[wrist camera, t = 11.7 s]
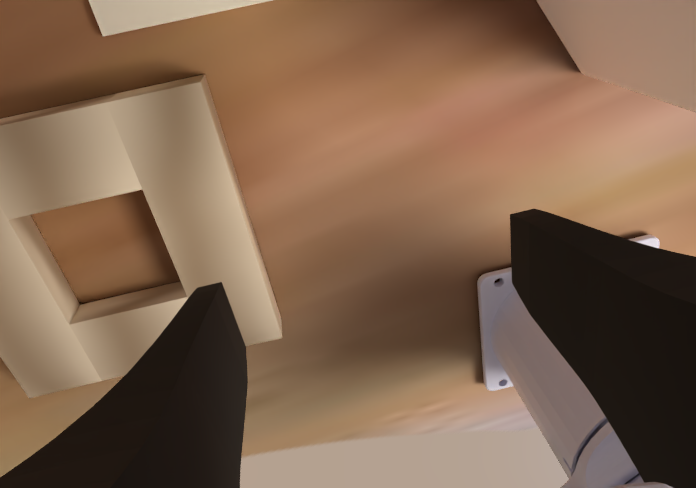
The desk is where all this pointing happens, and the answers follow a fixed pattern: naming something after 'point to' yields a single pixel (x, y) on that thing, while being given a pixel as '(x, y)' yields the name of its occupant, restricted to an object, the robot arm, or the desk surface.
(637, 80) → the gable box
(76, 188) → the pocket board
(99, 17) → the mat
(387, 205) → the desk surface
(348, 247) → the desk surface
